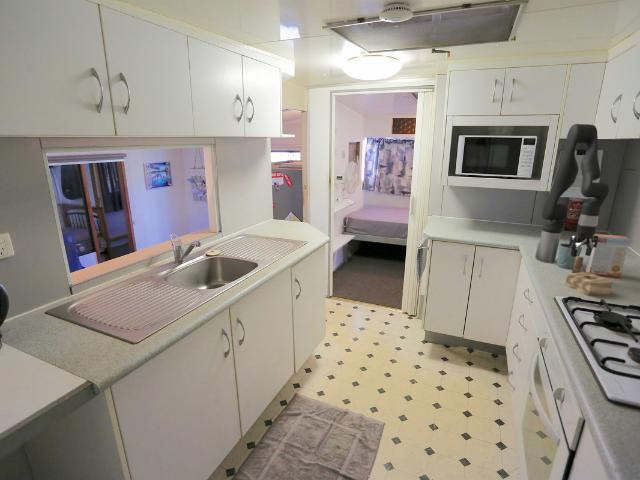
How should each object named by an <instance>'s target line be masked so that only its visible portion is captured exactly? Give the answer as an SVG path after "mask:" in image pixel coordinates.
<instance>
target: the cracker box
mask: <svg viewBox="0 0 640 480" xmlns="http://www.w3.org/2000/svg"><path fill="white" fill-rule="evenodd" d="M595 235H596V236H598V242H597V247H596V248H595V247H594V248H593V249H592V252H591V255H590V256H587V260H586V265H585V269H584V270H585V271H584V272H590V273H592V274H595V275H597V276H600V277H602V276H603V277H610V278H620V279H621V275H622V273H623V268H624V265H625V261H626V257H627V252H628V250H629V245H630V240H631V238H629V237H627V236H626V235H617V234H616V235H614V234H602V233H601V234H600V233H599V234H598V233H595ZM593 244H594V243H593Z"/></svg>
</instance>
